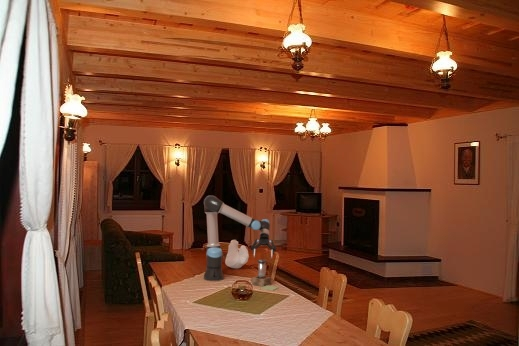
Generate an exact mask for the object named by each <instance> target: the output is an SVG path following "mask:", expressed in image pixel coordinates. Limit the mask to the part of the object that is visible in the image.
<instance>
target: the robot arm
mask: <svg viewBox="0 0 519 346" xmlns="http://www.w3.org/2000/svg"><path fill="white" fill-rule="evenodd" d="M203 205H204V207H203V208H204V213H205V214H206V227H207V228H206V230H207V231H206V232H207V244H206V246H205V247H206V253H205V255H206V269H205V272H204V274H203V279H204V280H205V281H211V282H212V281H213V282H214V281H215V282H216V281H222V280H224V274H223V269H222V263H223V262H222V260H223V250H222V249H221V247H222V246H221V243H219V226H218V214H219V213H220V214H222V215H224V216H226V217H227V218H230V219H232V220H234V221H236V222H238V223H240V224H242V225H243V226H246V228H249V229H251V230H253V231H259V230H260V232H259V239H257V238H256V239H255V240H254V242H253V243H252V245H251V246H250V250H251V251H252V254H253V258H255V257H256V250H257V249H259V247H261V246H262V247H263V246H266V247H268V249H269V250H270V251H271V253H270V254H271V255H270V259H273V256H274V255H275V252H276V251H277V248H276V245H275V243H274V241H273V239H270V228H271V223H270V220H269V219H268V218H265V219H264V218H263V219H261V220H258V219H255V218H252V217H251V216H249V215H247V214H245V213H243V212H241V211H239V210H237V209H235V208H233V207H231V206H229V205H227V204H225V203H224V201H222V200H220V199H219V198H218V197H217V196H215V195H207V196H206V197H205V198H204V200H203Z"/></svg>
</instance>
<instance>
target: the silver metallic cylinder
mask: <svg viewBox="0 0 519 346" xmlns="http://www.w3.org/2000/svg"><path fill="white" fill-rule="evenodd" d="M266 263H267V259H257V265H258V267H257V270H258V271H257V276H258V278H260V279H264V278H265V277H266Z"/></svg>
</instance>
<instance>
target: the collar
mask: <svg viewBox="0 0 519 346" xmlns="http://www.w3.org/2000/svg"><path fill="white" fill-rule="evenodd" d="M250 280H251V281H250V284H251V283H252V285H251V286H256V287H257V286H258V287H264V286H266V285H269V286H271V285H272V277H271V276H265V278H264V279H260V278H258V275H256V276H253V277H251V278H250Z"/></svg>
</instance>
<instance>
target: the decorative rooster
mask: <svg viewBox="0 0 519 346" xmlns="http://www.w3.org/2000/svg"><path fill="white" fill-rule="evenodd" d="M227 250H228V251H227V254H226V257H225V260H224V262H225V265H226V266H227V267H228V268H231V269H235V270H236V269H240V268H242V267H243V266H244V265H246V263H247V262H248V261H249V257H250V254H249V250H248V248H247V247H246V246H245V245H241V246H240V247H239V241H237V239H232V240H231V241H230V243H229V244H228V249H227Z"/></svg>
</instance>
